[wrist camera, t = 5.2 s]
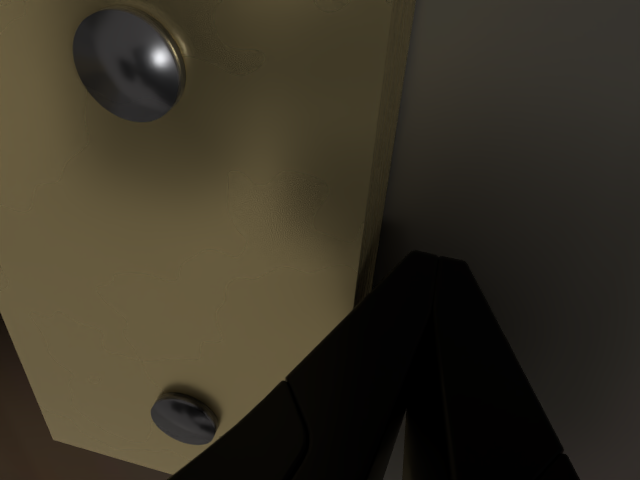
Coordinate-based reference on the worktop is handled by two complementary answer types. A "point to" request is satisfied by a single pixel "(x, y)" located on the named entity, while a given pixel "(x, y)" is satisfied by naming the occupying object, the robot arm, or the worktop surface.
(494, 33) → the worktop surface
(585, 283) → the worktop surface
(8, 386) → the worktop surface
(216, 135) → the olive box with knob
